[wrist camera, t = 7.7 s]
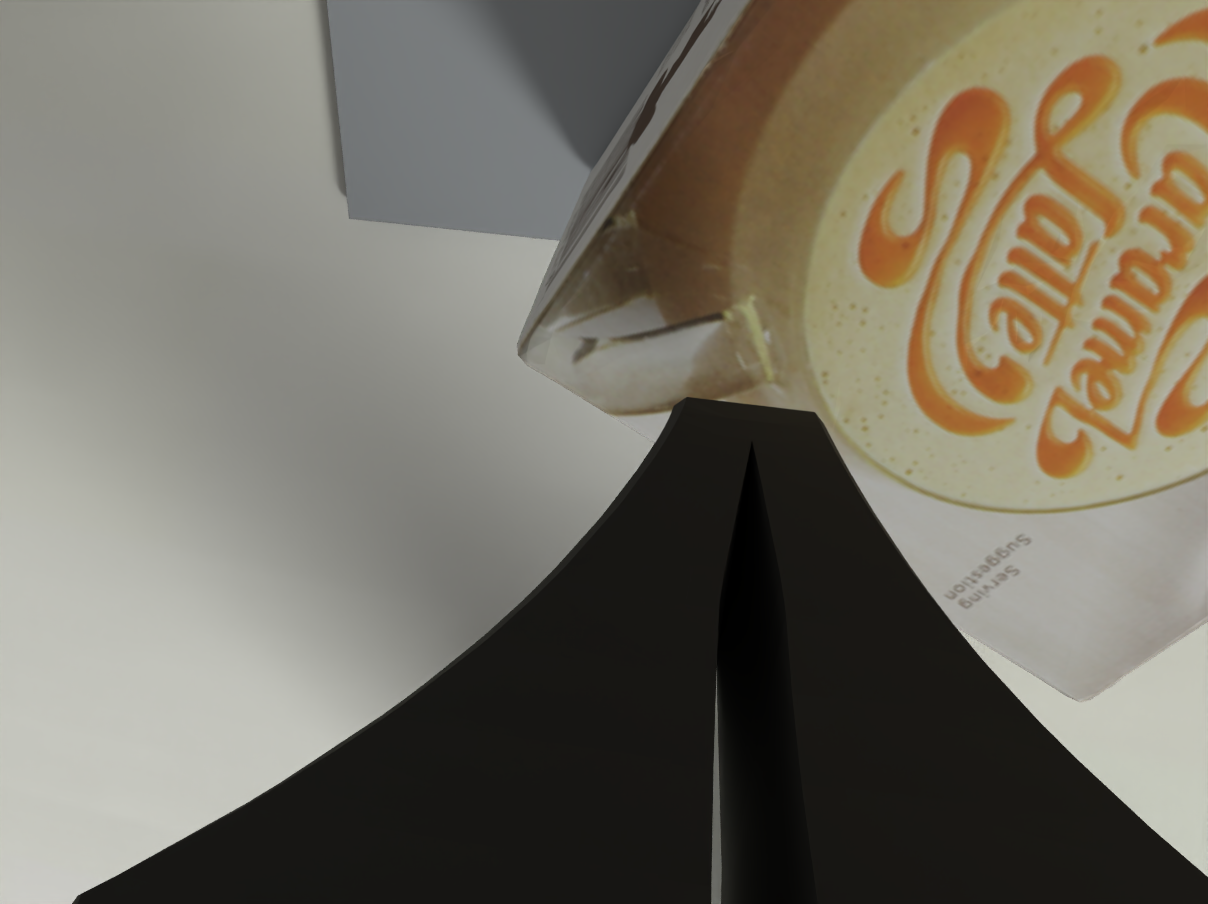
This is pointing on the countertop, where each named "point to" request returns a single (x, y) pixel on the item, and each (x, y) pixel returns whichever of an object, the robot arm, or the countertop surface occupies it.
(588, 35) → the mat
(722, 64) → the coffee box
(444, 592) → the countertop surface
